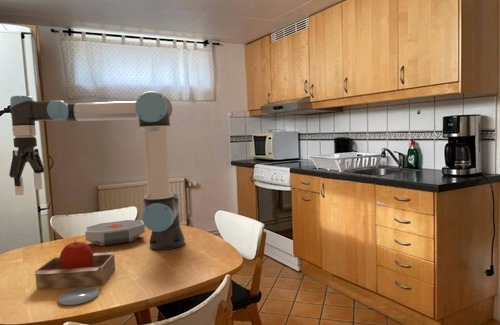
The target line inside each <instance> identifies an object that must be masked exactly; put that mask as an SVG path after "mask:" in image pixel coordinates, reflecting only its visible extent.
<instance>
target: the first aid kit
mask: <svg viewBox="0 0 500 325" xmlns="http://www.w3.org/2000/svg"><path fill="white" fill-rule="evenodd" d="M84 230H85V231H84V234H85V241H87V242H90V243H92V244H95V245H97V246H99V247H104V246H109V245H110V246H111V245H117V244H124V243H132V242H133V241H135V240H136V239H137V238H139V237H140V236H142V235H143V234H144V233H145V232H146V230H145V225H144V223H143V220H142V219H125V220H118V221H117V220H115V221H109V222H108V221H107V222H101V223H97V224H93V225H89V226H86V227H85V228H84Z"/></svg>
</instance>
